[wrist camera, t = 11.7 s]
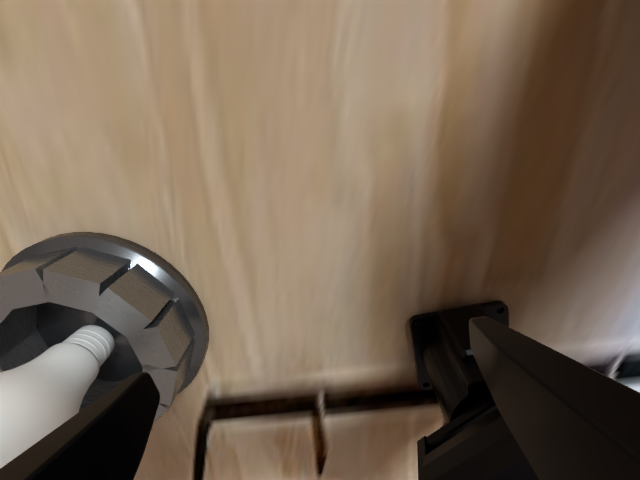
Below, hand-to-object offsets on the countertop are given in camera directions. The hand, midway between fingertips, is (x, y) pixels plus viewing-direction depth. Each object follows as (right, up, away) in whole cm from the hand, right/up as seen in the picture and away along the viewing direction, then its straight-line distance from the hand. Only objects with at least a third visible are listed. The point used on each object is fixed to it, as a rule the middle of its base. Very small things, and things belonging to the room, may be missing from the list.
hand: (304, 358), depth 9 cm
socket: (-15, -3, +14) cm, 20 cm away
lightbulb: (-14, -3, +13) cm, 20 cm away
